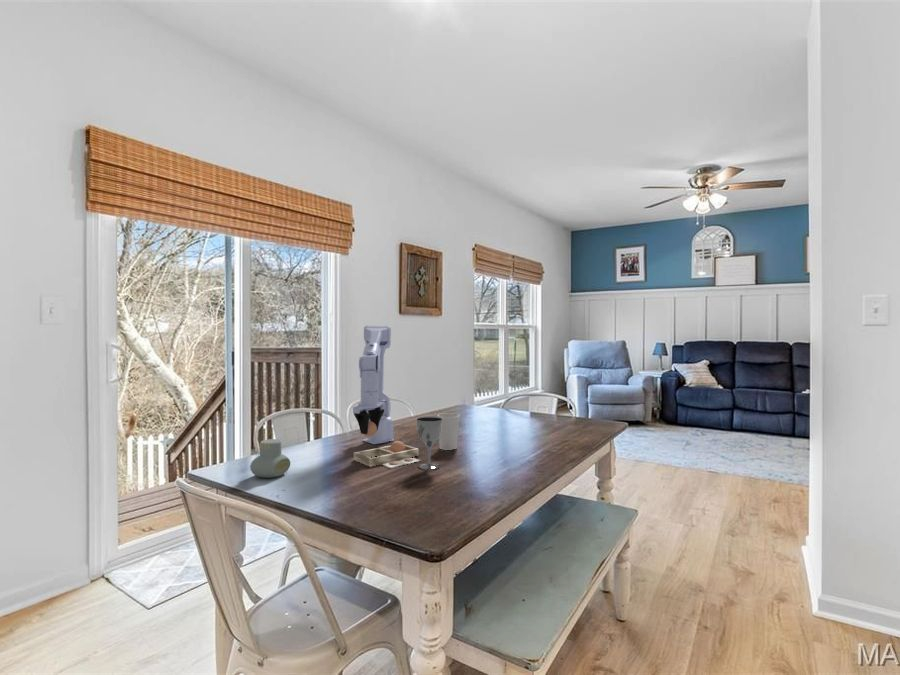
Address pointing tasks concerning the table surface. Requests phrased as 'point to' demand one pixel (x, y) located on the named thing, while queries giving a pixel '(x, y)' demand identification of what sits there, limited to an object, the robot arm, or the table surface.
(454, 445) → the cup
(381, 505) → the table surface
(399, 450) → the ball
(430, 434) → the wine glass
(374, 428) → the loose ball
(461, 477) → the table surface
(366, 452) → the rack
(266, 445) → the air freshener
